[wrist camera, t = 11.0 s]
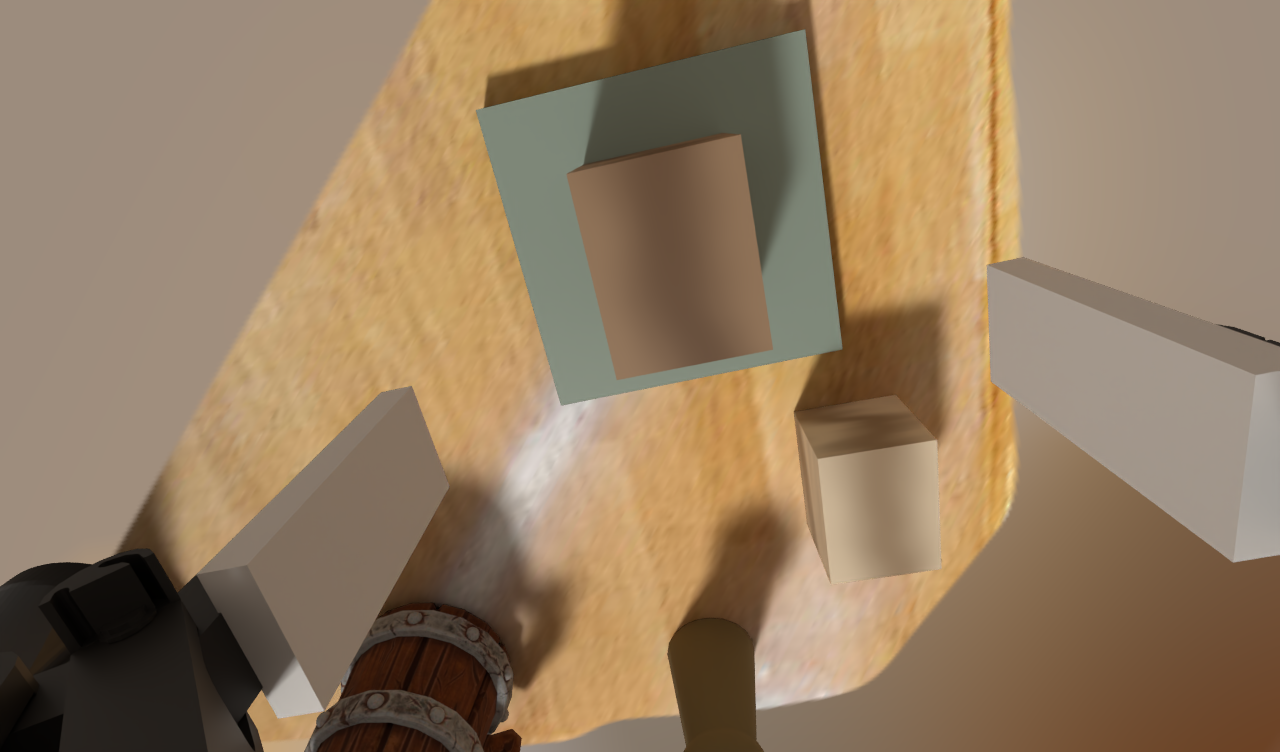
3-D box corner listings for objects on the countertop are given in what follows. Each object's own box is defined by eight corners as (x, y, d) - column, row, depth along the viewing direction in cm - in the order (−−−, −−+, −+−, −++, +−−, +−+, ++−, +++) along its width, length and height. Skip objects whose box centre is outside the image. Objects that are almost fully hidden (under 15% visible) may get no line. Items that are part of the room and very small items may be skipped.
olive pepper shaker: (738, 607, 44) (764, 754, 34) (765, 671, 46) (798, 829, 36) (654, 632, 45) (655, 783, 34) (685, 694, 47) (694, 854, 36)
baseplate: (564, 395, 38) (561, 405, 37) (483, 110, 33) (475, 110, 31) (835, 340, 37) (842, 349, 36) (798, 33, 31) (805, 29, 30)
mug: (394, 558, 43) (324, 791, 29) (572, 636, 48) (580, 864, 35) (311, 665, 46) (214, 917, 33) (485, 727, 51) (463, 966, 38)
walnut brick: (623, 333, 35) (616, 380, 29) (583, 164, 32) (566, 174, 26) (750, 307, 35) (773, 349, 28) (722, 133, 32) (741, 134, 25)
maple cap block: (806, 523, 42) (831, 584, 36) (793, 410, 39) (817, 458, 33) (901, 508, 41) (941, 568, 35) (895, 393, 38) (937, 439, 33)
